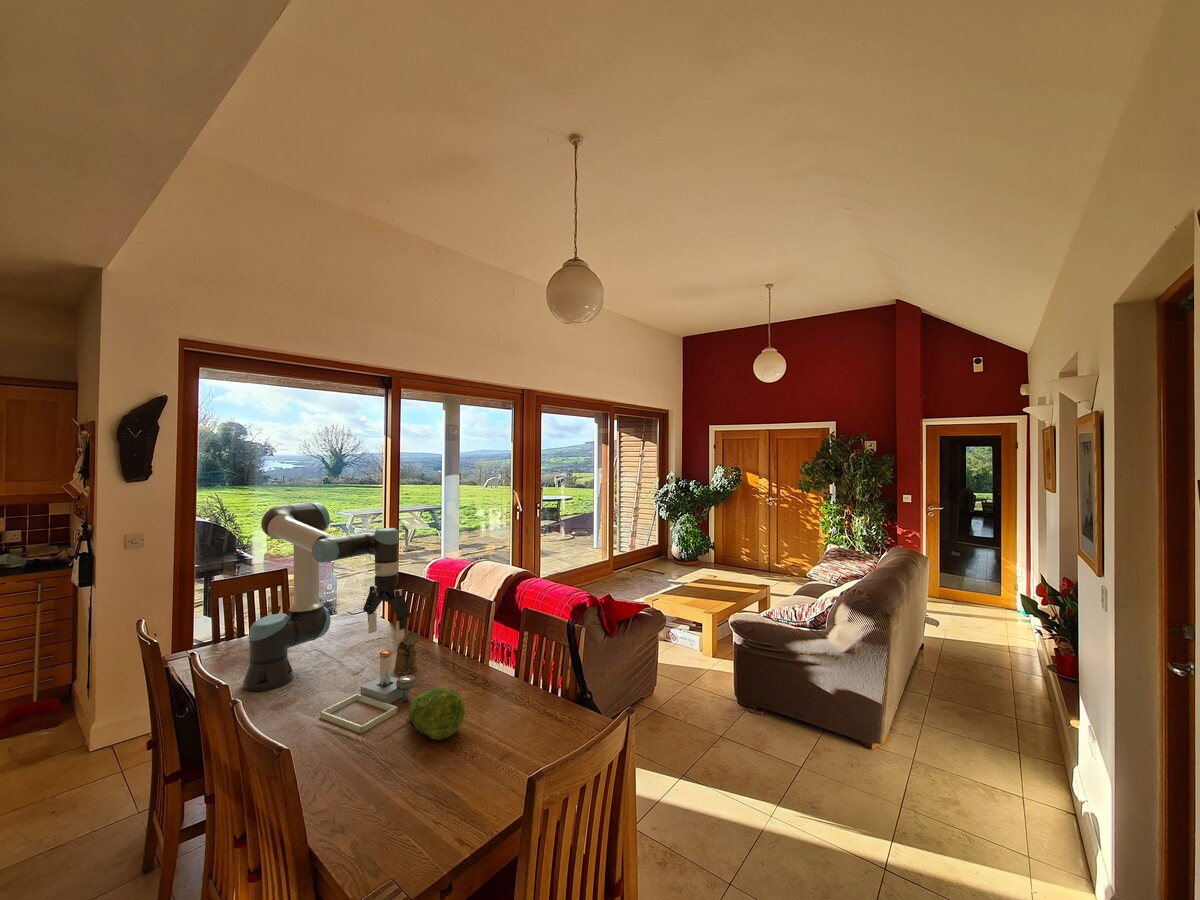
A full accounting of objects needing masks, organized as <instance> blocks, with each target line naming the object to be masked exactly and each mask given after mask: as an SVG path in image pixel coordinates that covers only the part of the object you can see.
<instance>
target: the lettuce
mask: <svg viewBox="0 0 1200 900" xmlns="http://www.w3.org/2000/svg"><path fill="white" fill-rule="evenodd" d="M463 699H464V698H463V696H461V695H460V694H459V692H457V691H456V690H454V689H450V688H442V687H441V688H434V689H429V690H427V691H424V692H422V693H420V694H419V695H418V696H416V697H414V699H413V700H412V702H411V703H410V705H409V709H408V715H409V719H410V721H412V723H413V725H414V727H415V728H416V729H417V731H419V732H421V734H424V735H426V736H427V737H429V738H431V739H432V740H438V741H441V740H445V739H448V738H450V737H452V735H453V734H455V733H456V732H457V731H458V730H459V728H460V726H461V725H462V724H463V719H464V717H465V713H466V712H465V711H466V709H465V705H466V704H465V702H464V700H463Z"/></svg>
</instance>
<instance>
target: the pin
mask: <svg viewBox="0 0 1200 900" xmlns="http://www.w3.org/2000/svg"><path fill="white" fill-rule="evenodd" d="M392 652H393V651H392V649H385V650H381V651H379V659H380V660H379V677H380V687H383V688H385V687H387V686H389V685H391V676H392V675H391V673H392Z"/></svg>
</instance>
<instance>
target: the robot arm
mask: <svg viewBox="0 0 1200 900" xmlns="http://www.w3.org/2000/svg"><path fill="white" fill-rule="evenodd" d="M330 518H331V517H330V514H329V511H328V509H327V508H326V506H325V505H324V504H323V503H321V502H312V501H311V502H300V503H292V504H291V503H289V504H280V505H276V506H274V507H271V508H269V509H268V510H267V511H266V512H265V513H264V514H263V516H262V518H261V522H260V523H261V524H260V526H261V529H262V531H263V533H264V534H265V535H266V536H268V537H269V538H272V539H274V540H283V541H286V542H287V543H291V544H292V545H293V603H292V605H291V607H289V609H288V612H289V615H287V613H279V612H278V613H274V614H269V615H265V616H264V617H259V619H257V620H256V621H254V622H253V623H252V624H251V626H250V629H249V636H248V638H249V665H248V667H247V669H246V670H247V671H246V673H245V675H244V679H243V681H242V686H243V687H242V689H243V690H245V691H247V692H265V691H269V690H273V689H278V688H279V687H282V686H284V685H287V683H289V682H291V681H292V680H293V674H294V670H293V667H292V666H291V663H290V659H289V657H288V649H290V648H292V647H296V646H299V645H302V644H304V643H307V642H312V641H315V640H317V639H319V638H321V637H324V636H325V635H326V634H327V632H328V631H329V629H330V627H331V626H330V625H331V620H332V619H331V614H330V611H329V609H328V608H327V607H325V606H324V602H322V601H320V563H330V562H335V561H339V560H344V559H348V558H353V557H358V556H365V555H369V556H370V555H371V556H374V574H375V575H374V585H371V586H370V587H369V591H368V592H369V593H368V595H367V598H366V601H365V603H364V606H363V608H362V610H363V612H366V614H367V623H368V627H367V628H368V629H367V630H368V634H372V633H373V634H374V633H375V632H377V625H378V624H377V623H378V621H377V620H378V619H377V611H376V610H377V609H378V607H380V604H381V602H385V603H388V604H389V605H390V606H391V608H392V611H393V612H394V614H395V615H396V618H397V620H396V621H395V622H396V623H395V625H396V628H395V632H396V633H395V634H396V636H395V637H396V638H395V640H397V641H399V640H402V639H404V638H405V629H406V619H409V618H410V617H411V614H410V610H409V607H408V604H407V601H406V598H405V595H404V594H405V593H404V589H403V588H401V589H397V585H398V584H399V573H398V572H399V544H400V543H399V541H400V539H399V530H398V529H397V528H395V527H385V528H384V527H383V528H377V529H376V530H375V531H374V532H371V531H370V532H369V531H357V532H355V533H354V534H350V535H348V534H347V535H342V536H335V535H331V534H330V533H328V532H324V531H325V530H327V529H328V528H329V526H330V524H331V523H330V522H331V519H330Z"/></svg>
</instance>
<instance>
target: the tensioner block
mask: <svg viewBox="0 0 1200 900" xmlns="http://www.w3.org/2000/svg"><path fill="white" fill-rule="evenodd" d="M398 679H399V678H398V677H394V676H392V675H391V685H389V686H387V687H385V688H383V687H380V676H379V677H378V678H375V679H373V680H372V681H369V682H366V683H365V684H362V685H360V695H363V696H366V697H369V698H372V699H375V700H378V701H381V702H384V703H387V704H390V705H392V703H393V704H394V702H397V700H399V699H402V698H403V690H399V689H397V688H396V681H397V680H398Z"/></svg>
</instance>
